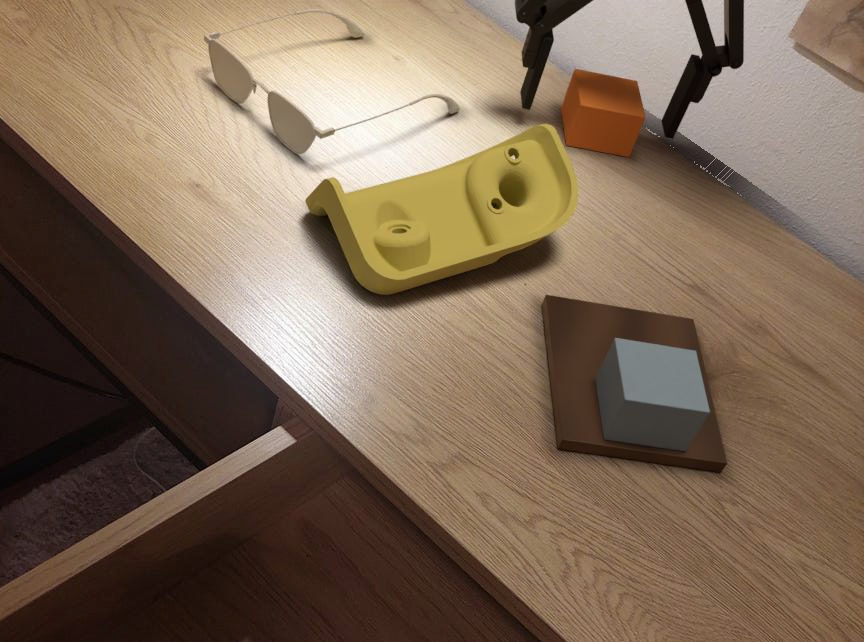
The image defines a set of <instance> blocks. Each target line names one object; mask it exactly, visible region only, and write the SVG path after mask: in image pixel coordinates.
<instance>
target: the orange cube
mask: <svg viewBox="0 0 864 642" xmlns="http://www.w3.org/2000/svg"><path fill="white" fill-rule="evenodd" d="M568 83H569V84H568V86H567V90H566V92H565V95H564V97H563V101H562V104H561V106H560V113H561V119H562V126H563V132H564V139H565V146H567V147H573V148H578V149H584V150H589V151H595V152H599V153H605V154H611V155H616V156H620V157H621V156H622V157H627V158H630V155H631V154H632V152H633V149H634V146H635V144H636V142H637V139H638V138H639V135H640V132H641V130H642V127H643V125H644V123H645V120H646V112H645V109H644V103H643V100H642V95H641V91H640V86H639V83H638V80H634V79H631V78H630V79H629V78H623V77H619V76H614V75H610V74H609V75H608V74H604V73H599V72H593V71H589V70H583V69H579V68H574V69H573V72H572V75H571V78H570V81H569V82H568Z"/></svg>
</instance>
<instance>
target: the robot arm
mask: <svg viewBox="0 0 864 642" xmlns="http://www.w3.org/2000/svg"><path fill="white" fill-rule="evenodd" d="M593 1H594V0H514V10H515V18H516V21H517V22H518V23H520V24H524V25H527V26H528V27H529V28H528V29H527V30H528V31H527V33H526V37H525V39H524V43H523V46H522V49H521V53H520V54H521V63H522V67H523V68H526V69H527V70H526V73H525V76H524V79H523V82H522V86H521V89H520V91H519V94H520V101H521V109H523V110H528V111H531V109H532V106H533V104H534V100H535V98H536V95H537V91H538V89H539V85H540V83H541V80H542V76H543V73H544V71H545V68H546V65H547V62H548V59H549V56H550V54H551V50H552V47H553V44H554V41H555V38H554V28H556V27H557V26H559V25H560V24H561V23H563V22H564V21H566V20H567V19H569V18H570V17H572V16H573V15H574V14H576V13H578V12H579V11H581V9H583V8H584V7H586V6H588V5H589V4H590V3H592V2H593ZM684 1H685V4H686V8H687V11H688V14H689V17H690V20H691V23H692V27H693V29H694V33H695V35H696V36H695V37H696V39H697V43H698V45H699V49H700V53H701V57H700V55H699V54H698V55H697V54H694V53H693V54H692V53H691V54H690V56H689V59H688V60H687V63H686V64H685V67H684V70H683V72H682V74H681V76H680V78H679V81H678V83H677V85H676V87H675V89H674V92H673V94H672V96H671V99H670V100H669V102H668V104H667V107H666V110H665V112H664V114H663V116H662V118H661V120H660V122H661V125H662V129H663V134H664V138H665V139H671V140H674V138H675V136H676V134H677V132H678V130H679V128H680V125H681V123H682V121H683V119H684V117H685V115H686V113H687V111H688V109H689V106H690V104H691V103H694V104H699V103H700V102H701V101H702V100H703V99H704V98H703V97H705V94H706V92H707V90H708V88H709V86H710V84H711V81H712V79H713V78H715V77H719V75H721V73H722V71H723V68H728V67H730V68H731V69H733V70H737V69H740V68H741V67H742V66H743V64H744V59H745V58H744V57H745V54H744V53H745V51H744V50H745V44H744V43H745V0H723V36H724V37H723V43H724V45H723V44H722V45H716V43H715V38H714V36H713V32H712V29H711V26H710V23H709V20H708V16H707V12H706V10H705V6H704V1H703V0H684Z"/></svg>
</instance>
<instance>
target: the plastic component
mask: <svg viewBox="0 0 864 642" xmlns="http://www.w3.org/2000/svg"><path fill="white" fill-rule="evenodd" d="M513 156H514V158H512V157H513ZM578 198H579V186H578V179H577V175H576V172H575V170H574V167H573V164H572V162H571V160H570V157H569V155H568V153H567V151H566V149H565V147H564V143H563V142H562V140H561V138H560V135H559V133H558V131H557V129H556V128H555V127H554V126H553V125H550V124H548V123H542V124H538V125H534V126H532V127H530V128H528V129H526V130H524V131H522V132H520V133H518V134H515V135H514V136H512V137H510V138H508V139H505V140H504V141H502V142H499V143H497V144H495V145H493V146H491V147H489V148H486V149H484V150H482V151H479V152H477V153H475V154H472V155H470V156H467V157H465V158H463V159H460V160H457V161H455V162H452V163H450V164H447V165H443V166H440V167H438V168H435V169H433V170H430V171H429V170H428V171H426V172H422V173H418V174H415V175H411V176H406V177H403V178H398V179H395V180H391V181H388V182H384V183H383V182H382V183H379V184H376V185H372V186H369V187H364V188H360V189H357V190H353V191H349V192H345V191H344V189H343V187H342V184H341V182H340V181H339V180H338V179H337V178H336V177H334V176H331V177H327V178H324V179H323V180H322V181H321V182H320V183H319V184H318V185H317V186H316V187H315V188H314V190H313V191H312V192H311V193H310V194H308V196H307V197H306V198H305V200H304V201H305V204H306V207H307V209H308V211H309V213H311V214H312V215H314V216H318V217H320V216H321V217H323V216H328V217H327V218H328V219H329V221H330V223H331V226H332V228H333V231H334V233H335V235H336V237H337V240H338V243H339V244H340V247H341V249H342V253H343V254H344V257H345V259H346V261H347V263H348V265H349V268H350V270H351V273H352V275H353V276H354V278H355V280H356V281H357V282H358V283H359V284H360V286H362V287H363V288H364V289H366V290H367V291H369V292H371V293H374V294H377V295H383V296H385V295H386V296H388V295H395V294H397V293H400V292H403V291H407V290H410V289H413V288H416V287H420V286H423V285H426V284H429V283H433V282H437V281H439V280H442V279H443V280H444V279H446V278H450V277H453V276H456V275H459V274H462V273H465V272H470V271H472V270H476V269H479V268H482V267H485V266H488V265H492V264H494V263H496V262H497V261H498V260H499V259H501V258H503V257H504V256H506V255H508V254H511V253H514V252H518V251H521V250H523V249H525V248H528V247H530V246H532V245H534V244H536V243H537V242H539V241H541V240H543V239H544V238H546V237H548V236H550V235H552V234H553V233H555V232H556V231H558V230H559V229H561V228H562V227H564V226H565V224H567V223H568V222H569V221H570V219H571V218H572V217H573V214H574V213H575V210H576V207H577V204H578Z"/></svg>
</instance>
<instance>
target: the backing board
mask: <svg viewBox="0 0 864 642" xmlns="http://www.w3.org/2000/svg"><path fill="white" fill-rule="evenodd" d="M541 309H542V317H543V326H544V328H543V329H544V334H545V336H544V337H545V345H546V354H547V362H548V364H547V365H548V372H549V381H550V389H551V390H550V391H551V396H552V399H551V400H552V408H553V418H554V425H555V427H554V428H555V435H556V444H557V449H558V450H562V451H570V452H576V453H584V454H590V455H596V456H597V455H598V456H603V457H612V458H620V459H624V460H625V459H626V460H633V461H638V462H639V461H640V462H647V463H653V464H661V465H667V466H668V465H669V466H673V467H682V468H687V469H695V470H702V471H709V472H717V473H722V472H723V470H724V469H725V468H726V466H727V464H728V460H727V455H726V452H725V447H724V444H723V439H722V434H721V431H720V426H719V422H718V418H717V414H716V410H715V405H714V401H713V396H712V392H711V388H710V384H709V383H710V382H709V379H708V375H707V371H706V367H705V363H704V358H703V354H702V350H701V346H700V341H699V337H698V333H697V329H696V324H695V320H694V318H690V317H683V316H678V315H671V314H666V313H661V312H660V313H659V312H653V311H647V310H643V309H642V310H641V309H635V308H629V307H623V306H618V305H611V304H606V303H601V302H600V303H598V302H593V301H587V300H580V299H575V298H569V297H563V296H556V295H551V294H545V295H544V298H543V301H542V303H541ZM615 338H620V339H626V340H632V341H639V342H645V343H651V344H657V345H664V346H670V347H676V348H682V349H688V350H695V351H696V353H697V357H698V362H699V366H700V370H701V375H702V379H703V383H704V388H705V392H706V396H707V401H708V405H709V409H710V413H709V415H708V416H707V418H706V420H705V421H704V423H703V425H702V426H701V428H700V429H699V431H698V433H697V434H696V436H695V437H694V439H693V441H692V442H691V444H690V445H689V447H688V449H687V450H686V451H679V450H672V449H665V448H658V447H651V446H645V445H638V444H631V443H624V442H617V441H610V440H605V439H604V435H603V429H602V422H601V415H600V408H599V401H598V394H597V388H596V381H595V378H596V376H597V374H598V372H599V370H600V368H601V366H602V363H603V361H604V359H605V357H606V355H607V353H608V351H609V349H610V347H611V345H612V343H613V341H614V339H615Z"/></svg>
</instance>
